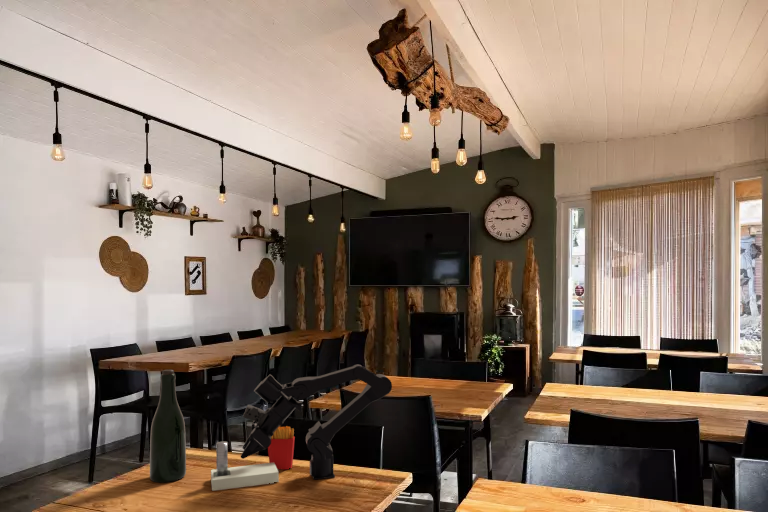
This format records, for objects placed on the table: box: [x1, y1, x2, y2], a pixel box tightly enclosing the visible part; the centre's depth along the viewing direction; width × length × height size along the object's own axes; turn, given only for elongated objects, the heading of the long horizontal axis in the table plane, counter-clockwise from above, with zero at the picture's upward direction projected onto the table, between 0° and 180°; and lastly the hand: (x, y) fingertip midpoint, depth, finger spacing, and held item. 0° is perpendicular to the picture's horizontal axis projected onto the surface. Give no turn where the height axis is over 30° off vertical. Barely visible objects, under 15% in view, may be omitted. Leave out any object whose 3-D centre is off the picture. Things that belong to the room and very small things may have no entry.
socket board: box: [210, 462, 280, 491], centre depth 172 cm, size 19×10×3 cm, turn 108°
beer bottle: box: [149, 369, 187, 483], centre depth 177 cm, size 10×10×33 cm
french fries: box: [267, 425, 296, 470], centre depth 184 cm, size 9×4×13 cm, turn 85°
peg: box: [215, 440, 229, 477], centre depth 170 cm, size 3×3×12 cm
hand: (242, 453), depth 171 cm, fingers open, 9 cm apart
